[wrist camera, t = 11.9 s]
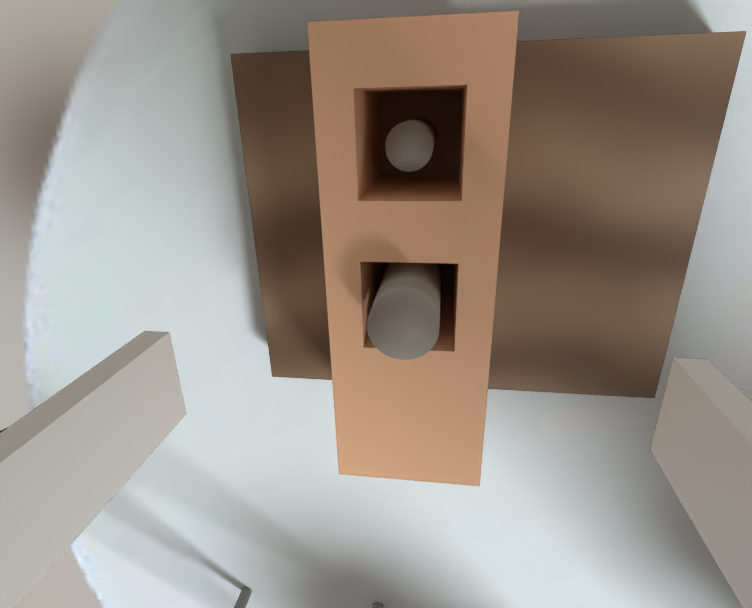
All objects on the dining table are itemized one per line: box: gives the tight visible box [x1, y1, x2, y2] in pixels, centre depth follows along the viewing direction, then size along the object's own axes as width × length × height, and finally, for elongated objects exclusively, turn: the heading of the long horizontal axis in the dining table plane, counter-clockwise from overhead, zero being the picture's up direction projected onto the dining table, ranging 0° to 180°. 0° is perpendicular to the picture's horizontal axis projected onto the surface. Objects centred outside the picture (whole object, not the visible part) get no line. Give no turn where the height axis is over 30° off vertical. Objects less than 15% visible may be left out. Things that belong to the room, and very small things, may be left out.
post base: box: [231, 31, 746, 398], centre depth 19 cm, size 16×20×10 cm
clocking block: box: [307, 11, 519, 486], centre depth 19 cm, size 17×6×6 cm, turn 1°
